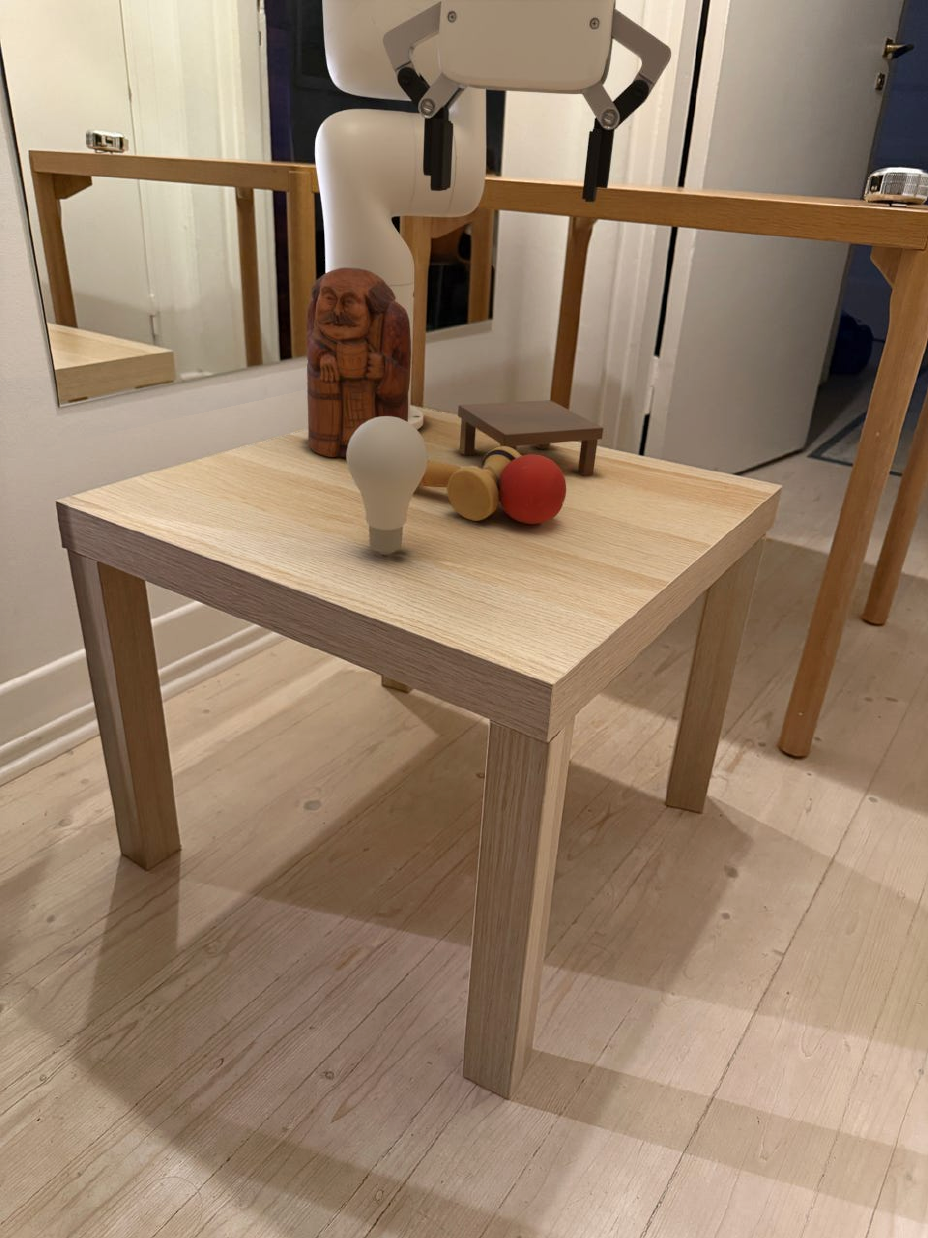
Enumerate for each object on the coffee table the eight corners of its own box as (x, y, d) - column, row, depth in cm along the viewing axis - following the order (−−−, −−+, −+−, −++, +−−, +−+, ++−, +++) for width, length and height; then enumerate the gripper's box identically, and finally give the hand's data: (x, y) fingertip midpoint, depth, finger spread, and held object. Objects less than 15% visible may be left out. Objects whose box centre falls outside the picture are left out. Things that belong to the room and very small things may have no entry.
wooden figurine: (289, 452, 94) (283, 266, 85) (314, 436, 99) (311, 260, 91) (398, 468, 91) (403, 278, 83) (417, 450, 97) (424, 271, 88)
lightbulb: (400, 534, 76) (403, 403, 71) (438, 561, 71) (444, 424, 66) (333, 546, 73) (332, 410, 68) (368, 575, 68) (370, 432, 63)
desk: (455, 451, 97) (458, 404, 95) (545, 444, 102) (550, 399, 99) (501, 484, 88) (505, 434, 86) (597, 475, 93) (603, 427, 90)
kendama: (364, 510, 84) (539, 532, 75) (365, 440, 82) (543, 454, 73) (412, 502, 90) (578, 522, 81) (414, 438, 88) (583, 450, 80)
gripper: (695, -123, 52) (650, 202, 60) (404, -130, 55) (397, 184, 63) (702, -164, 46) (650, 208, 54) (370, -170, 48) (367, 187, 56)
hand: (513, 195), depth 58 cm, fingers open, 9 cm apart
